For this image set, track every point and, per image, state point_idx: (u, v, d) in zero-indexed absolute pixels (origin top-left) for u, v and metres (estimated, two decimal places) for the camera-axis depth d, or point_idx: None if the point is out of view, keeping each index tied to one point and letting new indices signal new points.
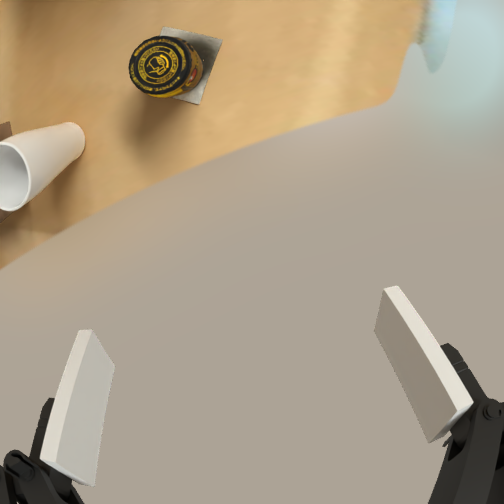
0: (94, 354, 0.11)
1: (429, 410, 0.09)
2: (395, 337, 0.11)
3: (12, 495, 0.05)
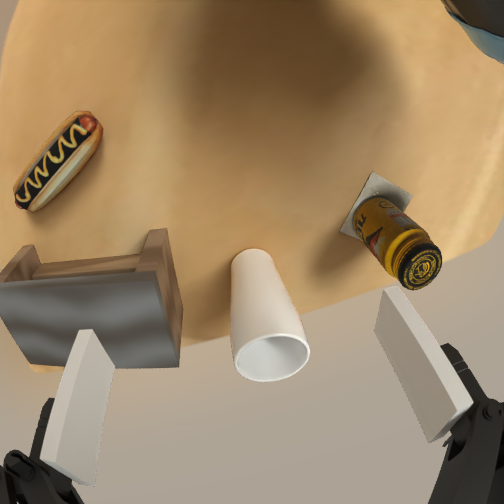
0: (94, 354, 0.11)
1: (429, 410, 0.09)
2: (395, 337, 0.11)
3: (12, 495, 0.05)
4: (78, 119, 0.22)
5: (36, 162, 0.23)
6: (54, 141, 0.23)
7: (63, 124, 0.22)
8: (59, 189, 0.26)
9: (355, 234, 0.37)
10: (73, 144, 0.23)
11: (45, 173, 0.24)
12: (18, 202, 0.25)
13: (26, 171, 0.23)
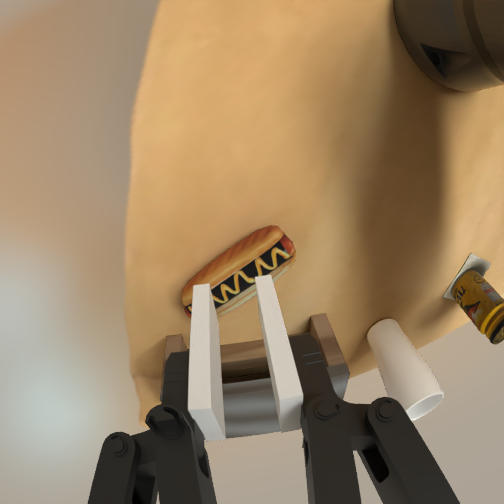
0: (212, 307, 0.14)
1: (275, 397, 0.10)
2: (262, 323, 0.13)
3: (131, 473, 0.07)
4: (280, 243, 0.28)
5: (224, 280, 0.29)
6: (249, 262, 0.28)
7: (262, 247, 0.28)
8: None
9: (451, 297, 0.41)
10: (274, 267, 0.28)
11: (236, 291, 0.29)
12: None
13: None
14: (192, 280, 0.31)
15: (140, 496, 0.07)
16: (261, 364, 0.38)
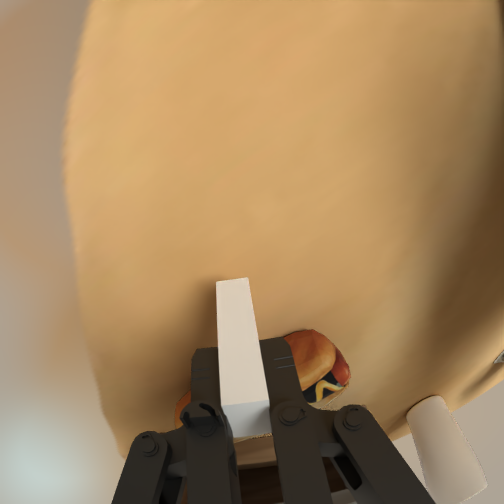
0: None
1: None
2: None
3: (160, 474, 0.07)
4: (330, 373, 0.15)
5: None
6: None
7: (302, 382, 0.15)
8: None
9: (501, 360, 0.29)
10: (316, 401, 0.16)
11: None
12: None
13: None
14: (189, 400, 0.19)
15: (165, 496, 0.07)
16: None
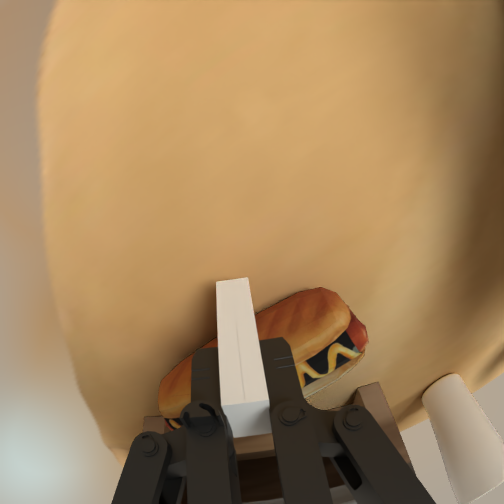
0: None
1: None
2: None
3: (160, 474, 0.07)
4: (346, 334, 0.13)
5: None
6: None
7: (311, 344, 0.13)
8: None
9: None
10: (327, 372, 0.14)
11: None
12: None
13: None
14: (174, 376, 0.17)
15: (165, 496, 0.07)
16: None
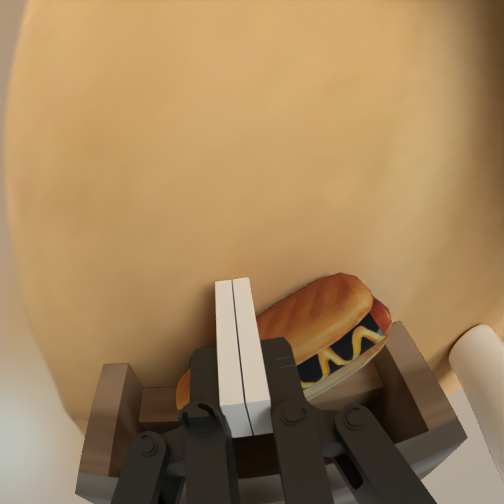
0: (234, 303, 0.14)
1: None
2: None
3: (159, 474, 0.07)
4: (369, 316, 0.12)
5: None
6: (306, 356, 0.13)
7: (335, 328, 0.12)
8: None
9: None
10: (352, 359, 0.13)
11: None
12: None
13: None
14: None
15: (164, 496, 0.07)
16: None
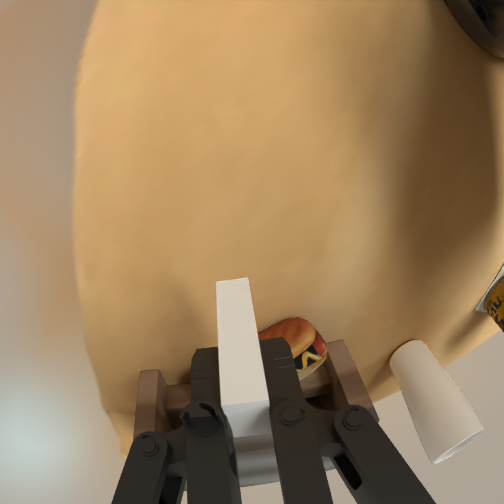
0: None
1: None
2: None
3: (160, 474, 0.07)
4: (312, 346, 0.23)
5: None
6: None
7: (292, 352, 0.23)
8: None
9: (483, 309, 0.32)
10: (303, 368, 0.24)
11: None
12: None
13: None
14: None
15: (165, 496, 0.07)
16: None
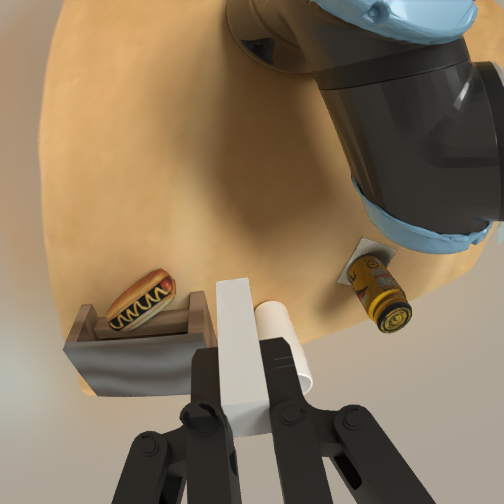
0: None
1: None
2: None
3: (160, 474, 0.07)
4: (159, 284, 0.38)
5: (127, 306, 0.39)
6: (141, 296, 0.39)
7: (148, 286, 0.38)
8: None
9: (349, 283, 0.47)
10: (158, 299, 0.39)
11: (137, 314, 0.40)
12: (113, 328, 0.41)
13: (119, 311, 0.39)
14: (113, 304, 0.42)
15: (165, 496, 0.07)
16: (151, 333, 0.44)
